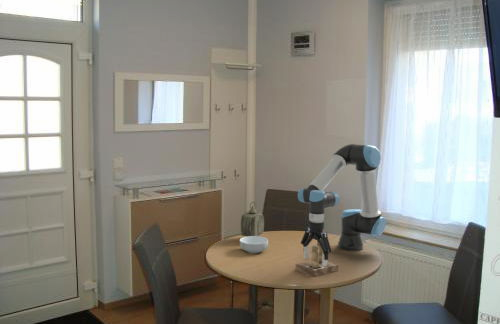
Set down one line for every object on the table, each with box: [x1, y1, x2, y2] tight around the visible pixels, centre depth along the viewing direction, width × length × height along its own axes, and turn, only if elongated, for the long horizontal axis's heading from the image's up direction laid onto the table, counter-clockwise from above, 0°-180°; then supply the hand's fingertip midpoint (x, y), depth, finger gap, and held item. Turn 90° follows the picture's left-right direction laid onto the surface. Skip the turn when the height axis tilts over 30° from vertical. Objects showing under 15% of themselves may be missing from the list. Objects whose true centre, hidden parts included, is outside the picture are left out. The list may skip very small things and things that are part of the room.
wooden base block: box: [294, 240, 339, 278], centre depth 259 cm, size 18×13×14 cm
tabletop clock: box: [240, 201, 265, 237], centre depth 312 cm, size 14×9×25 cm, turn 150°
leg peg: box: [311, 245, 319, 269], centre depth 255 cm, size 4×4×14 cm
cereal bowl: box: [239, 235, 269, 254], centre depth 292 cm, size 17×17×7 cm
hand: (315, 262), depth 255 cm, fingers open, 13 cm apart
